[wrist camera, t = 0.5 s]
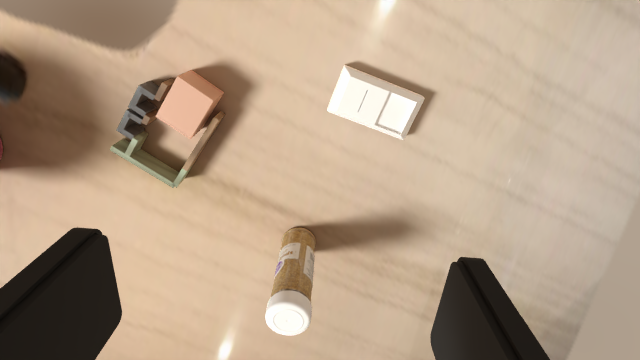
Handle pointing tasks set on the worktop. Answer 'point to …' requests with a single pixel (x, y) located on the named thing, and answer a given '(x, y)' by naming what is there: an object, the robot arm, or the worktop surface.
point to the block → (189, 103)
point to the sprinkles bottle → (292, 284)
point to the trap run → (146, 114)
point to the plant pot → (1, 149)
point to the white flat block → (374, 102)
